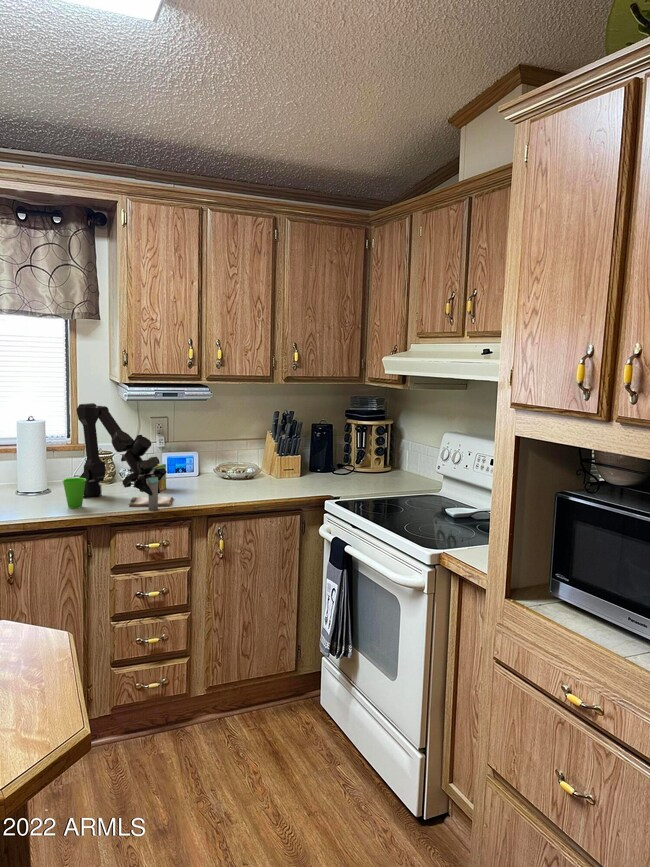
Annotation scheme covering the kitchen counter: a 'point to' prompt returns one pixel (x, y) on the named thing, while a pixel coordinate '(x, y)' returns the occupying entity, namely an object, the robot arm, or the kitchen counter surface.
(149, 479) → the marker
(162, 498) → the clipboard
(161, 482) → the chalk box
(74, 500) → the cup
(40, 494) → the kitchen counter surface
